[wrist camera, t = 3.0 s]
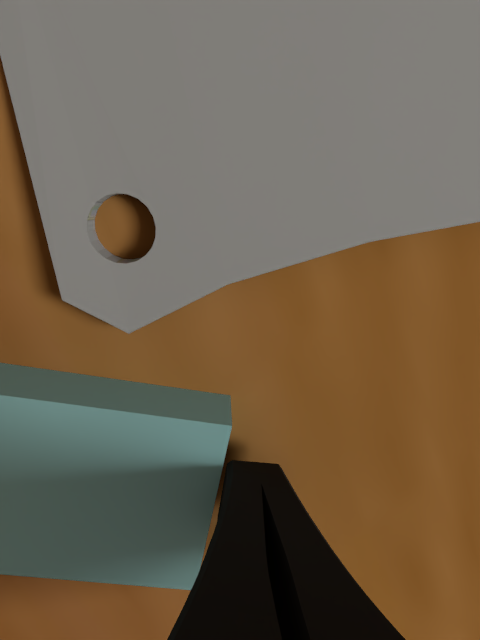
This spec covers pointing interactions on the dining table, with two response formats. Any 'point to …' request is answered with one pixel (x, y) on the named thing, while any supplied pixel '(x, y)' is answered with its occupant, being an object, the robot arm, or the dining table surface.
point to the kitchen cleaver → (239, 133)
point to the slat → (107, 477)
